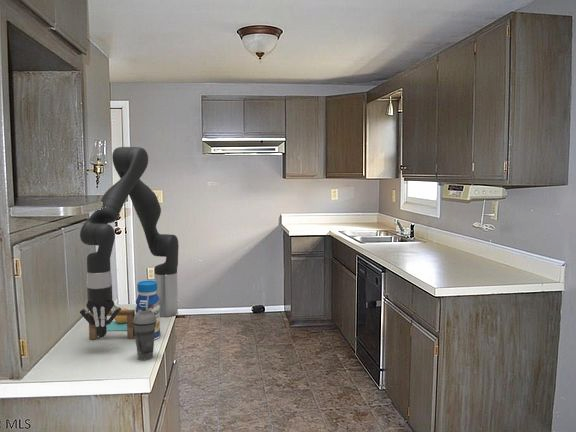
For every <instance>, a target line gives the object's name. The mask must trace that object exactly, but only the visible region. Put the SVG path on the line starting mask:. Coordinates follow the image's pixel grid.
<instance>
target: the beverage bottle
mask: <svg viewBox="0 0 576 432" xmlns="http://www.w3.org/2000/svg"><path fill="white" fill-rule="evenodd" d="M136 284H137V288H136V289H137V292H138V295H137V297H136V298H135V304H136V306H135V309H134V310H135V314H136V313H137V312H138V311H139V310H141V309H146V302H147V295H149V299H148V309H149V310H151V311H152V312H153V313H154V314H155V316H156V320H157V322H156V327H155V335H154V341H156V340H158V339H159V338H160V337H161V322H160V321H161V318H160V317H161V316H160V305H159V302H160V299H159V297H158V295H157V294H156V291H157V282H156V281H154V280H141V281H138V282H137V283H136Z"/></svg>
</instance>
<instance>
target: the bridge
mask: <svg viewBox="0 0 576 432" xmlns="http://www.w3.org/2000/svg"><path fill="white" fill-rule="evenodd" d="M112 310H113V309H111V311H110V312H109V313H108V314H107V317H111V316H112V314H113V313H112ZM89 313H90V314H91V315H92V317H93V318H94V315H93V314H92V313H91V312H90V311H89ZM135 314H136V311H135V309H127V310H120V312H119V313H118V314H117V316H127V331H126V332H127V334H126V335H127V337H126V338H127V340H133V339H134V340H135V330H134V327H133V319H134V316H135ZM88 336H89V341H95V340H97V339H98V338H99V337H98V336H97V334H96V326H95V325H90V324H89V323H88Z"/></svg>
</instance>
